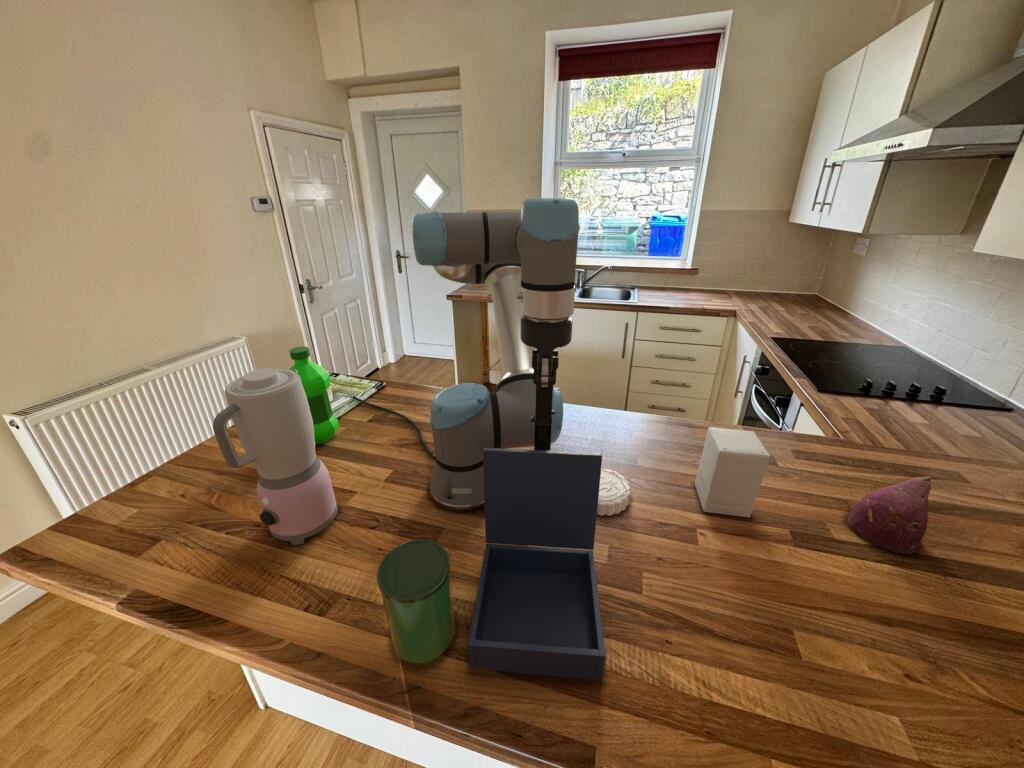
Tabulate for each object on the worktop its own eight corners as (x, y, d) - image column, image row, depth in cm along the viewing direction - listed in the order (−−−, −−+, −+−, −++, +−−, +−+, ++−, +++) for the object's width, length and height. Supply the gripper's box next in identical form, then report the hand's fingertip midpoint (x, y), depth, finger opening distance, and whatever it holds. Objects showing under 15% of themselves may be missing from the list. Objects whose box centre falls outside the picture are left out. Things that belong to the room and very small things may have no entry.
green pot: (386, 619, 61) (372, 553, 55) (446, 595, 64) (438, 530, 58) (398, 680, 53) (383, 612, 47) (465, 649, 57) (459, 582, 51)
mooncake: (631, 520, 79) (634, 506, 77) (570, 512, 81) (571, 498, 79) (626, 480, 90) (628, 467, 88) (572, 475, 91) (573, 462, 90)
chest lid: (602, 455, 58) (601, 452, 59) (483, 450, 60) (483, 447, 61) (593, 550, 65) (592, 546, 65) (485, 543, 66) (486, 539, 67)
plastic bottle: (291, 441, 105) (265, 352, 94) (328, 423, 112) (308, 339, 101) (313, 454, 99) (288, 361, 88) (350, 434, 107) (331, 347, 96)
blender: (307, 493, 86) (267, 355, 72) (352, 507, 82) (319, 364, 68) (239, 548, 73) (173, 392, 59) (288, 568, 69) (230, 407, 55)
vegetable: (891, 532, 80) (942, 472, 74) (922, 568, 70) (984, 503, 65) (834, 509, 82) (880, 449, 76) (857, 541, 73) (911, 476, 67)
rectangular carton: (751, 519, 79) (772, 456, 72) (702, 512, 81) (719, 451, 74) (737, 488, 87) (755, 430, 80) (693, 483, 89) (708, 425, 82)
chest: (601, 683, 53) (605, 656, 50) (470, 671, 54) (467, 645, 52) (590, 574, 68) (593, 550, 65) (487, 567, 69) (486, 543, 67)
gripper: (523, 303, 64) (522, 429, 74) (517, 329, 52) (517, 474, 62) (570, 304, 63) (563, 431, 73) (575, 330, 51) (565, 476, 62)
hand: (542, 451), depth 68 cm, fingers closed
